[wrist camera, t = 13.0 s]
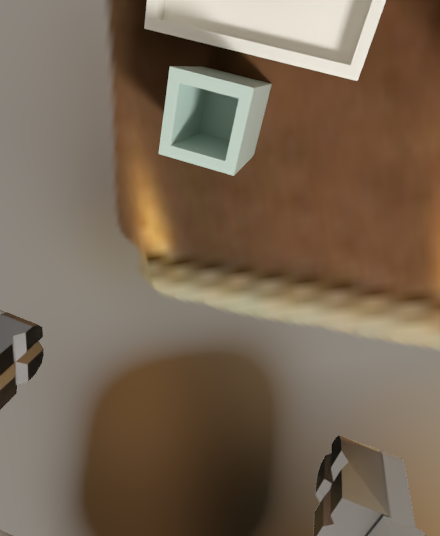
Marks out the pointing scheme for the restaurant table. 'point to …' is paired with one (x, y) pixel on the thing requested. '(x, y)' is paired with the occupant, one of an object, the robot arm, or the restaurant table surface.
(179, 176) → the restaurant table surface
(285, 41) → the melamine tray
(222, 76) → the celadon cup
